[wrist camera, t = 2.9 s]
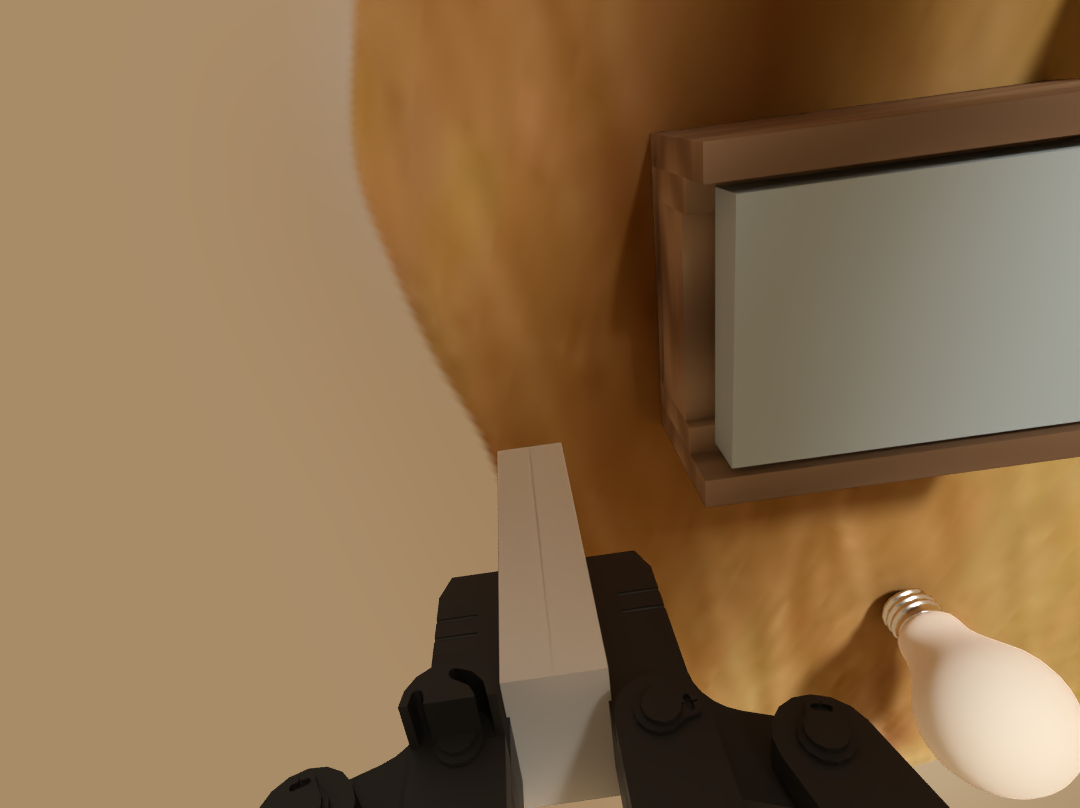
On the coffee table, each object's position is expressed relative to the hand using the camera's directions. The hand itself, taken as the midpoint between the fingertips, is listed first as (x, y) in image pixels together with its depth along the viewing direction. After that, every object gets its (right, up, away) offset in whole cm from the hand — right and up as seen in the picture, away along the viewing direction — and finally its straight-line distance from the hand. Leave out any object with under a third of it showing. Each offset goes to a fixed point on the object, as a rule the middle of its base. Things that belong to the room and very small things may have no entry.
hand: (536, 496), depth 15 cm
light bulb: (+21, -9, +21) cm, 31 cm away
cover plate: (+13, +6, +8) cm, 17 cm away
